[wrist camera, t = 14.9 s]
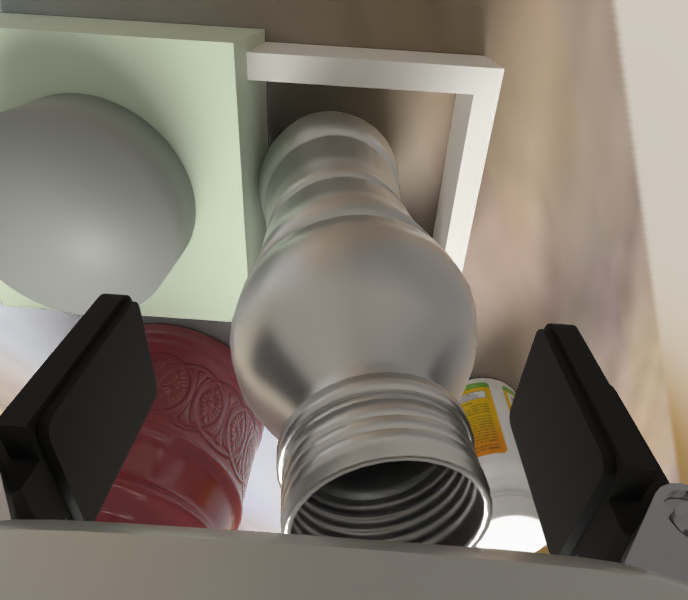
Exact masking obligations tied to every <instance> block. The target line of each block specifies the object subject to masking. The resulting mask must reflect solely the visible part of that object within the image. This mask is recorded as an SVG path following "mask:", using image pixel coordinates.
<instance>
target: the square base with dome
mask: <svg viewBox="0 0 688 600" xmlns="http://www.w3.org/2000/svg"><path fill="white" fill-rule="evenodd" d="M504 70H505V69H504V68H503V67H501V66H500V65H498V64H497V63H495V62H493V61H492V60H490V59H489V58H487V57H486V56H480V55H464V54H449V53H433V52H417V51H402V50H386V49H371V48H355V47H339V46H324V45H308V44H293V43H277V42H265V29H253V28H237V27H221V26H206V25H190V24H174V23H159V22H143V21H127V20H112V19H96V18H80V17H65V16H49V15H33V14H18V13H2V12H0V300H1V302H2V305H3V306H11V307H26V308H40V309H54V310H58V311H62V312H66V313H71V314H76V315H84V314H85V313H86V311H87V310H88V309H89V308H90V307H91V305H92V304H93V303H94V302H95V301H96V299H97V298H98V297H99V296H100V295H101V294H104V293H105V294H120V295H128V296H130V297H131V299H132V301H133V302H137V303H138V304H139V307H140V311H141V316H154V317H168V318H182V319H196V320H211V321H225V322H232V319H233V316H234V313H235V310H236V306H237V303H238V300H239V297H240V294H241V292H242V289H243V286H244V283H245V281H246V280H247V278H248V275H249V273H250V271H251V269H252V267H253V265H254V263H255V261H256V259H257V257H258V255H259V253H260V251H261V249H262V244H263V240H264V237H265V234H266V229H267V228H266V221H265V218H264V214H263V211H262V207H261V202H260V195H259V176H260V169H261V166H262V163H263V160H264V157H265V155H266V153H267V151H268V122H267V89H266V81H271V82H286V83H301V84H317V85H332V86H348V87H363V88H378V89H394V90H409V91H425V92H440V93H455V94H456V98H455V104H454V110H453V116H452V122H451V128H450V134H449V140H448V146H447V152H446V158H445V164H444V170H443V176H442V182H441V189H440V195H439V201H438V207H437V213H436V219H435V225H434V231H433V237H432V238H433V239H434V240H435V241H436V242H437V243H438V244H439V245H440V246H441V247H442V248H443V249H444V250H445V251H446V252H447V253H448V255H449V256H450V257H451V259H452V260H453V262H454V263H455V264H456V265H457V267H458V268H459V269H460V271H461V273H462V270H463V265H464V260H465V256H466V251H467V246H468V241H469V237H470V232H471V227H472V222H473V218H474V213H475V208H476V203H477V198H478V194H479V189H480V184H481V179H482V175H483V170H484V165H485V160H486V155H487V151H488V146H489V141H490V136H491V132H492V127H493V122H494V117H495V113H496V108H497V103H498V98H499V93H500V89H501V84H502V79H503V74H504Z"/></svg>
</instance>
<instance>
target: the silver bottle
mask: <svg viewBox="0 0 688 600" xmlns="http://www.w3.org/2000/svg"><path fill="white" fill-rule="evenodd" d="M399 192H400V184H399V175H398V168H397V163H396V160H395V157H394V154H393V151H392V149H391V147H390V146H389V144H388V142H387V140H386V139H385V138H384V136H383V135H382V134H381V133H380V132H379V131H378V130H377V129H376V128H375V127H373V126H372V125H371V124H369V123H368V122H366V121H365V120H363V119H360V118H358V117H356V116H353V115H351V114H348V113H343V112H337V111H321V112H317V113H313V114H309V115H307V116H304V117H302V118H300V119H298V120H296V121H295V122H294V123H292V124H291V125H290V126H288V127H287V128H286V129H285V130H283V131H282V132H281V133H280V135H279V136H278V137H277V138H276V139H275V140H274V141H273V143H272V144H271V146H270V148H269V149H268V151H267V153H266V155H265V157H264V160H263V163H262V166H261V169H260V176H259V195H260V202H261V207H262V211H263V214H264V218H265V221H266V228H267V229H266V234H265V237H264V240H263V244H262V249H261V251H260V253H259V255H258V257H257V259H256V261H255V263H254V265H253V267H252V269H251V271H250V273H249V275H248V278H247V280H246V281H245V283H244V286H243V289H242V292H241V294H240V297H239V300H238V303H237V306H236V310H235V313H234V316H233V319H232V324H231V332H230V350H231V358H232V363H233V367H234V370H235V374H236V378H237V381H238V384H239V387H240V389H241V392H242V395H243V397H244V400H245V402H246V403H247V404H248V406H249V407H250V409H251V410H252V412H253V413H254V415H255V416H256V417H257V418H258V419H259V420H260V421H261V422H262V424H263V425H264V426H265V427H266V428H267V429H268V430H269V431H270V432H271V433H272V434H273V435H274V436H275V437H276V438H277V439H278V440H279V441H278V446H277V478H278V482H279V484H280V487H281V532H282V533H283V534H297V535H312V536H326V537H340V538H354V539H368V540H382V541H395V542H408V543H421V544H434V545H447V546H461V547H475V546H476V545H477V544H478V542H479V541H480V540H481V539H482V537H483V536H484V534H485V532H486V531H487V529H488V527H489V524H490V521H491V517H492V514H493V510H492V498H491V495H490V488H489V485H488V482H487V479H486V476H485V474H484V472H483V469H482V467H481V465H480V462H479V460H478V457H477V455H476V453H475V446H474V435H473V432H472V429H471V427H470V424H469V421H468V419H467V417H466V414H465V412H464V410H463V408H462V406H461V405H460V403H459V401H460V399H461V397H462V395H463V392H464V390H465V387H466V385H467V382H468V380H469V377H470V375H471V372H472V369H473V366H474V361H475V356H476V352H477V332H476V310H475V304H474V300H473V297H472V293H471V290H470V286H469V285H468V283H467V281H466V280H465V278H464V276H463V274H462V273H461V271H460V269H459V268H458V267H457V265H456V264H455V263H454V262H453V260H452V259H451V257H450V256H449V255H448V253H447V252H446V251H445V250H444V249H443V248H442V247H441V246H440V245H439V244H438V243H437V242H436V241H435V240H434V239H433V238H432V237H431V236H430V235H429V234H428V233H427V232H426V231H425V230H424V229H422V228H421V227H420V226H419V225H418V224H417V223H416V222H415V221H414V220H413V219H412V217H411V216H410V214H409V213H408V211H407V210H406V208H405V207H404V205H403V204H402V201H401V197H400V194H399Z"/></svg>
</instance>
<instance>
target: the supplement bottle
mask: <svg viewBox="0 0 688 600" xmlns="http://www.w3.org/2000/svg"><path fill="white" fill-rule="evenodd" d="M515 394H516V393H515V392H514V390H513V389H512V388H511V387H510V386H508V385H507V384H505V383H504V382H501V381H499V380H495V379H490V378H476V379H471V380H468V382H467V385H466V387H465V390H464V392H463V395H462V397H461V399H460V401H459V403H460V405H461V406H462V408H463V410H464V412H465V414H466V417H467V419H468V421H469V424H470V427H471V429H472V432H473V435H474V446H475V453H476V455H477V457H478V460H479V462H480V465H481V467H482V469H483V472H484V474H485V476H486V479H487V482H488V485H489V488H490V495H491V498H492V510H493V514H492V517H491V521H490V524H489V527H488V529H487V531H486V532H485V534H484V536H483V537H482V539H481V540H480V541H479V542H478V544H477V545H476V546H477V547H478V548H487V549H500V550H511V551H522V552H532V553H534V552H536V551H538V550H540V549H541V548H542V547H544V546H545V545H546V540H545V537H544V533H543V530H542V527H541V524H540V520H539V517H538V514H537V511H536V507H535V504H534V501H533V498H532V494H531V491H530V488H529V485H528V481H527V478H526V475H525V471H524V468H523V465H522V462H521V458H520V455H519V452H518V449H517V445H516V442H515V439H514V436H513V432H512V429H511V426H510V420H509V414H510V409H511V406H512V403H513V400H514V397H515Z"/></svg>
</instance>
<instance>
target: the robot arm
mask: <svg viewBox="0 0 688 600" xmlns="http://www.w3.org/2000/svg"><path fill="white" fill-rule="evenodd" d="M156 393H157V384H156V379H155V375H154V370H153V366H152V361H151V357H150V352H149V347H148V343H147V338H146V334H145V329H144V325H143V320H142V316H141V311H140V307H139V304H138V303H137V302H133V301H132V299H131V297H130V296H128V295H120V294H105V293H104V294H101V295H100V296H99V297H98V298H97V299H96V301H95V302H94V303H93V304H92V305H91V307H90V308H89V309H88V310H87V311H86V313H85V314H84V315H83V316H82V318H81V319H80V320H79V321H78V322H77V324H76V325H75V326H74V327H73V328H72V330H71V331H70V332H69V333H68V335H67V336H66V337H65V338H64V339H63V341H62V342H61V343H60V344H59V345H58V347H57V348H56V349H55V350H54V352H53V353H52V354H51V355H50V356H49V357H48V358H47V360H46V361H45V362H44V363H43V365H42V366H41V367H40V368H39V369H38V371H37V372H36V373H35V374H34V375H33V377H32V378H31V379H30V380H29V382H28V383H27V384H26V385H25V386H24V388H23V389H22V390H21V391H20V392H19V394H18V395H17V396H16V397H15V399H14V400H13V401H12V402H11V403H10V405H9V406H8V407H7V408H6V409H5V411H4V412H3V413H2V414H1V415H0V600H688V485H686V484H682V483H669V481H668V480H667V478H666V476H665V474H664V473H663V471H662V469H661V468H660V466H659V464H658V462H657V461H656V459H655V457H654V456H653V454H652V452H651V450H650V449H649V447H648V445H647V444H646V442H645V440H644V438H643V437H642V435H641V433H640V431H639V430H638V428H637V426H636V425H635V423H634V421H633V419H632V418H631V416H630V414H629V413H628V411H627V409H626V407H625V406H624V404H623V402H622V400H621V399H620V397H619V395H618V394H617V392H616V390H615V389H614V388H613V387H612V386H611V385H610V384H609V383H608V381H607V379H606V377H605V376H604V374H603V372H602V370H601V369H600V367H599V365H598V363H597V362H596V360H595V358H594V357H593V355H592V353H591V351H590V350H589V348H588V346H587V344H586V343H585V341H584V339H583V337H582V336H581V334H580V332H579V330H578V329H577V327H576V326H574V325H565V324H547V325H546V327H545V328H544V329H539V330H538V331H537V333H536V335H535V338H534V341H533V344H532V347H531V350H530V353H529V356H528V359H527V362H526V365H525V368H524V371H523V373H522V376H521V379H520V382H519V385H518V388H517V391H516V394H515V397H514V400H513V403H512V406H511V409H510V414H509V420H510V426H511V429H512V432H513V436H514V439H515V442H516V445H517V449H518V452H519V455H520V458H521V462H522V465H523V468H524V471H525V475H526V478H527V481H528V485H529V488H530V491H531V494H532V498H533V501H534V504H535V507H536V511H537V514H538V517H539V520H540V524H541V527H542V530H543V533H544V537H545V540H546V543H547V547H548V550H549V552H550V554H542V553H532V552H522V551H511V550H500V549H487V548H474V547H461V546H447V545H434V544H421V543H408V542H395V541H382V540H368V539H354V538H340V537H326V536H312V535H297V534H283V533H269V532H255V531H240V530H225V529H209V528H194V527H179V526H164V525H148V524H133V523H114V522H94V521H95V519H96V517H97V515H98V513H99V511H100V509H101V507H102V505H103V503H104V501H105V499H106V497H107V495H108V493H109V491H110V489H111V487H112V485H113V483H114V481H115V479H116V477H117V475H118V473H119V471H120V469H121V467H122V465H123V463H124V461H125V459H126V457H127V455H128V453H129V451H130V449H131V447H132V445H133V443H134V441H135V439H136V437H137V435H138V433H139V431H140V429H141V427H142V425H143V423H144V421H145V419H146V417H147V415H148V413H149V411H150V409H151V407H152V405H153V403H154V400H155V398H156Z"/></svg>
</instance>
